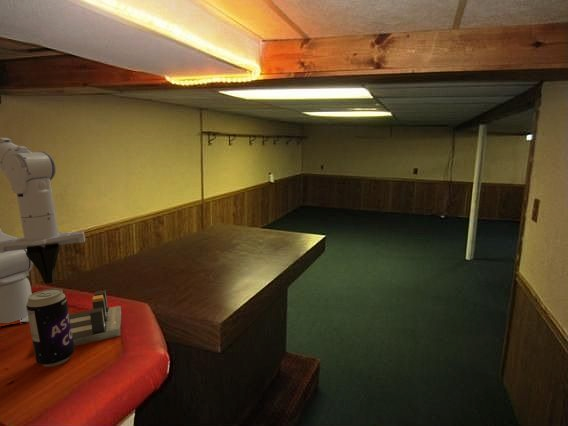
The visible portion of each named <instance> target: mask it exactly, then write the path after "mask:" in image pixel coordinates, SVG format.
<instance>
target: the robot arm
mask: <svg viewBox="0 0 568 426" xmlns="http://www.w3.org/2000/svg"><path fill="white" fill-rule="evenodd" d="M56 168H57V167H56V163H55V161H54V159H53V157H52V156H51V155H50V154H49V153H47V152H46V151H45V150H39V151H35V152H32V151H31V150H28V147H26V146H24V145H17V144H16V143H13V142H12V139H10V138H9V137H0V171H1V172H3V173H4V175H5V176H6V178H7V180H8V182H9V184H10V187H11V190H12V192H13V193H14V194H16V199H17V205H18V210H19V216H20V222H21V225H22V233H23V237H20V238H19V237H16V236H13V235H10V234H7V233H4V232H3V231H2V228H0V323H10V322H14V321H17V320H20V322H26V323H29V318H28V313H27V307H26V305H27V302H28V297H29V296H30V295H31V294H33V293H32V288H31V283H30V279H29V278H27V277H29V276H30V274H29V272H30V271H31V270H32V269H33V266H35V268H36V269H37V271H38V272H39V273H40V274H39V275H40V276H41V277H42V280H43V284H45V285H47V284H48V285H49V284H53V283H54V282H55V274H56V273H55V272H56V271H55V270H56V265H57V260H58V256H59V253H60V251H61V247H62V245H68V244H83V243H85V241H86V237H85V231H75V232H74V231H73V232H59V227H58V220H57V214H56V208H55V203H54V195H53V189H52V184H51V181H52V180H53V179H54V178H55V175H56V171H57V170H56ZM21 319H22V320H21Z"/></svg>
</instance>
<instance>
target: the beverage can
mask: <svg viewBox="0 0 568 426" xmlns="http://www.w3.org/2000/svg"><path fill="white" fill-rule="evenodd" d="M26 307H27V313H28V318H29V322H28V323H29V327H30V334H31V339H32V345H33V346H34V347H33V351H35V352H34V356H35V361H36V363H37V364H39V365H42V366H43V367H46V368H49V367H56V366H59V365H61V364H64V363H65V362H67V361H68V360H70V358H71V356H72V355H73V354H74V352H75V346H74V343H73V337H72V330H71V324H70V318H69V314H70V313H69V306H68V300H67V296H66V295H65V293H64V292H63V289H61V288H47V289H43V290H39V291H36V292H34V293H32V294H31V295H30V296H29V297H28V302H27V305H26Z"/></svg>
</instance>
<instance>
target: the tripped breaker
mask: <svg viewBox="0 0 568 426" xmlns="http://www.w3.org/2000/svg"><path fill="white" fill-rule="evenodd" d="M91 305H92V309H96V308H101V307H102V308H103V315H104V320H106V317H107V314H106V307H105V300H104V297H103V295H98V296H94V295H93V296H92V304H91Z"/></svg>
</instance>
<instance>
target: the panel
mask: <svg viewBox="0 0 568 426" xmlns="http://www.w3.org/2000/svg"><path fill="white" fill-rule="evenodd" d="M98 295H103V297H104V300H105V307H106V314H107V317H106V320H104V315H103V308H102V307H101V308H96V309H93V308H92V309H89V310H86V311H81V312H76V313H75V312H74V313H69V318H70V324H71V330H72V337H73V343H74V347H75V346H79V345H84V344H89V343H93V342H99V341H103V340H109V339H111V338H116V337H120V336H121V325H122V309H121V308H122V307H121V305H117V306H112V307H111V306H110V307H109V306H108V300H107V294H106V289H104V290H97V291H95V292H94V295H93V296H98ZM33 348H34V346H33ZM33 351H34V350H33ZM34 353H35V351H34Z"/></svg>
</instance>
